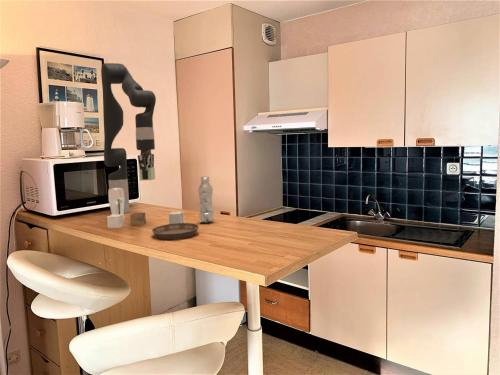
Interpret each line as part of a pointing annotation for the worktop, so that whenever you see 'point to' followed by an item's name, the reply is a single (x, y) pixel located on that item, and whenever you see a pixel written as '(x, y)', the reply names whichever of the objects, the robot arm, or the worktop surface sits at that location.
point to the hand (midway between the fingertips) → (147, 178)
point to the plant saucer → (175, 230)
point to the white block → (115, 221)
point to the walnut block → (138, 219)
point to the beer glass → (116, 201)
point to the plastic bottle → (205, 201)
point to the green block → (150, 174)
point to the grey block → (176, 217)
